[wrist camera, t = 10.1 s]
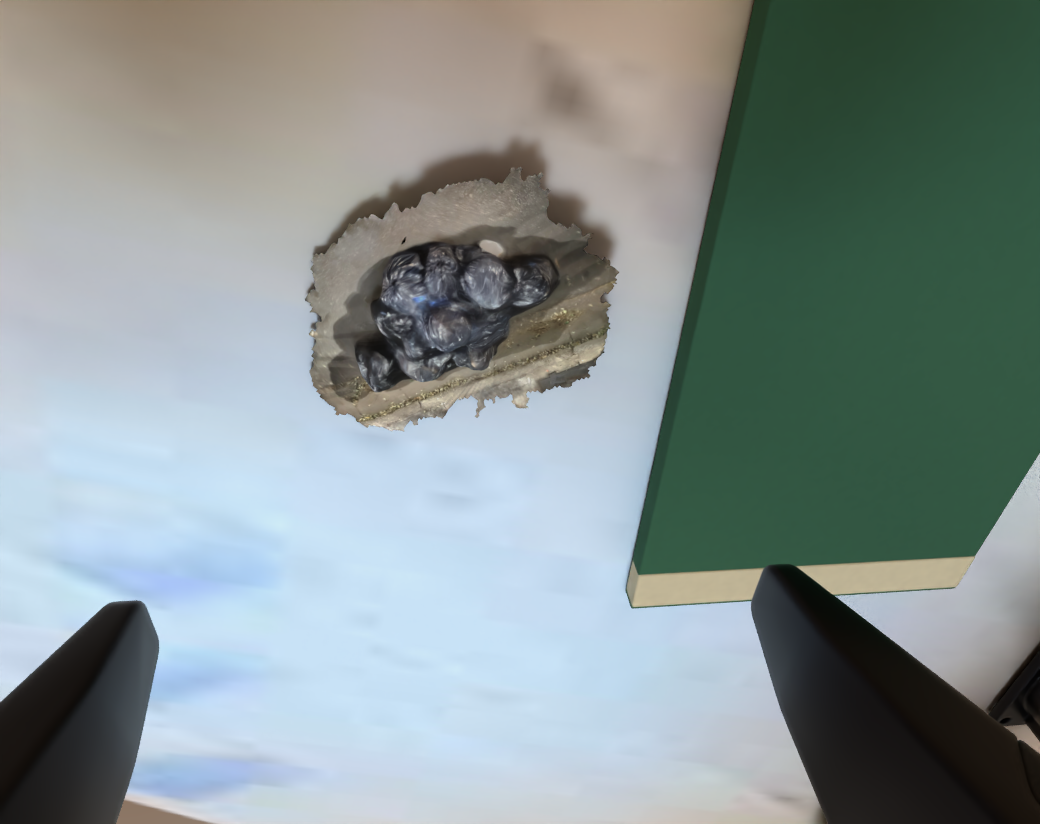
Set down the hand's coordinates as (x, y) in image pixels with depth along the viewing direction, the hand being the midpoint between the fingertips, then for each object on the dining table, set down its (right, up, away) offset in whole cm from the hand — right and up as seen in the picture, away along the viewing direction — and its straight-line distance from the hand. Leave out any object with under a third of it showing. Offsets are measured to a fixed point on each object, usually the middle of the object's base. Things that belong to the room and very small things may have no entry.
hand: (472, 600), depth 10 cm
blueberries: (-1, +5, +7) cm, 9 cm away
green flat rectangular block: (+11, +5, +8) cm, 15 cm away
